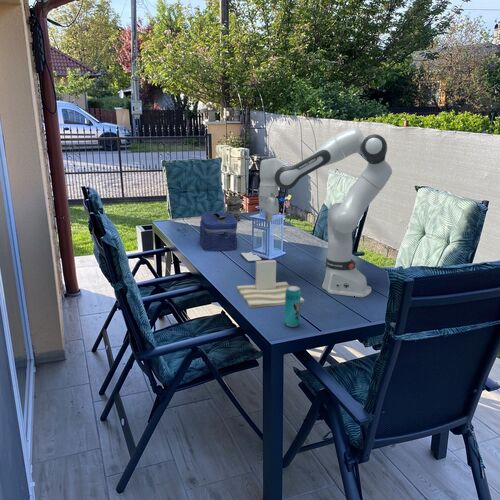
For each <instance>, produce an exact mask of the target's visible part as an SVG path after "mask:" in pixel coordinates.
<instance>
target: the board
mask: <svg viewBox="0 0 500 500" xmlns="http://www.w3.org/2000/svg"><path fill="white" fill-rule="evenodd" d="M288 286H291V285H290V284H288V282H287V281H278V282H276V288H274V289H263V290H256V288H255V284H244V285H236V289H237V292H239V294H240V295H241V296H242V298H243V299H244V300H245V302H246V304H247V305H248V307H249V308H250V309H255V308H264V307H265V308H266V307H274V306H275V307H276V306H285V294H286V288H287V287H288ZM300 304H305V299H304V298H303V297H302V296H301V299H300Z"/></svg>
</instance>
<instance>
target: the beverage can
mask: <svg viewBox="0 0 500 500" xmlns="http://www.w3.org/2000/svg"><path fill="white" fill-rule="evenodd" d="M301 293H302V292H301V287H299V286H297V285H290V286H288V287H287V288H286V294H285V305H284V323H285V325H286V326H287V327H290V328H294V327H298V325H299V324H300V320H301V319H300V317H301V303H300V299H301V297H302V296H301V295H302V294H301Z"/></svg>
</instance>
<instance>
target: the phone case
mask: <svg viewBox="0 0 500 500" xmlns="http://www.w3.org/2000/svg"><path fill="white" fill-rule="evenodd" d="M251 252H252V251H248V252H247V251H246V252H239V255H240V257H241V258H242V259H243V260H244V261H245V262H246V263H247V262H248V263H247V264H252V263H256V261H263V259H262V257H260V256H259V255H258V254H257V255H258V256H257V255H253V254H252V253H251Z"/></svg>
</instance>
